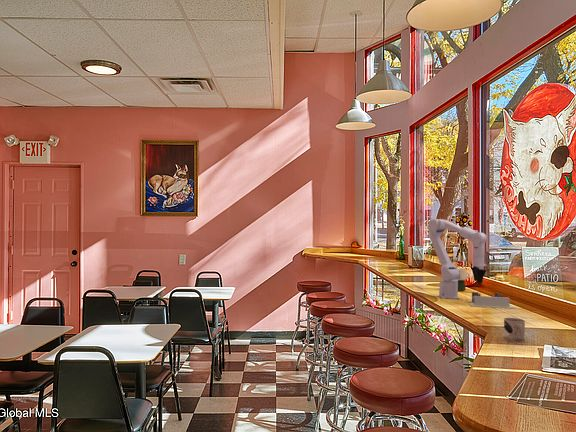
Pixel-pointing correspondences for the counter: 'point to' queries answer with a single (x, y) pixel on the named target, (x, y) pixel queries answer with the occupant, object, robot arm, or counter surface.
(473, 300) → the brown boxy piece
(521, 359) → the counter surface
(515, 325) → the mug
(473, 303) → the mat
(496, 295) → the post right
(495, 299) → the rail
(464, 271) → the character mug
